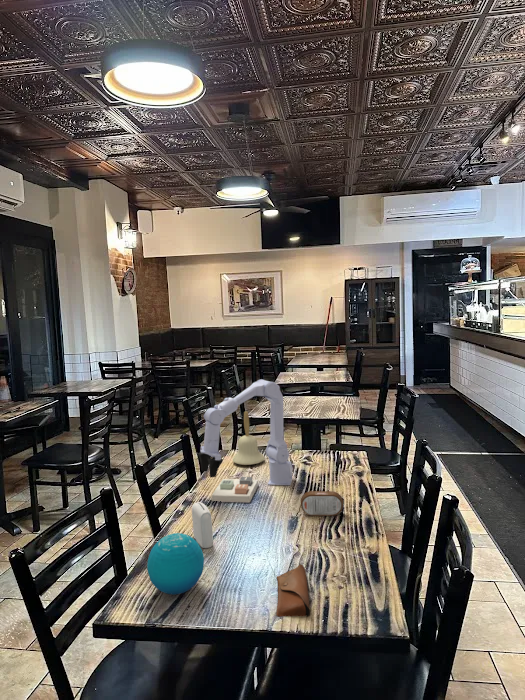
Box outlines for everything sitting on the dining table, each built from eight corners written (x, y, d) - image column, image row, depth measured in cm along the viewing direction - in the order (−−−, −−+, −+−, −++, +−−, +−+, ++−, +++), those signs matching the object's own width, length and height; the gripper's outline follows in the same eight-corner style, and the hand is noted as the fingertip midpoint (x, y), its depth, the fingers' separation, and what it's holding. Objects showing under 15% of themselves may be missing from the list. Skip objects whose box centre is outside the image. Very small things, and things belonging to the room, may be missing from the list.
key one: (252, 484, 196) (252, 476, 196) (250, 488, 192) (250, 480, 192) (242, 483, 197) (241, 476, 197) (239, 487, 193) (239, 480, 193)
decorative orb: (169, 570, 138) (166, 520, 136) (215, 579, 132) (212, 527, 131) (137, 600, 124) (133, 545, 123) (187, 612, 118) (183, 555, 117)
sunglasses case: (274, 575, 132) (286, 554, 132) (296, 586, 133) (308, 566, 132) (275, 617, 115) (288, 594, 114) (301, 630, 115) (314, 607, 114)
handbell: (252, 469, 218) (250, 416, 215) (226, 465, 226) (223, 413, 224) (270, 459, 231) (268, 409, 228) (245, 455, 239) (242, 406, 236)
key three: (233, 487, 194) (233, 479, 194) (231, 491, 190) (230, 483, 189) (223, 487, 195) (222, 479, 194) (220, 491, 190) (220, 483, 190)
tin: (343, 513, 169) (342, 490, 169) (344, 516, 166) (343, 493, 165) (301, 513, 171) (300, 490, 170) (300, 517, 168) (299, 494, 167)
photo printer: (191, 536, 157) (189, 500, 156) (204, 533, 159) (202, 497, 158) (202, 550, 148) (199, 512, 147) (215, 546, 150) (212, 508, 149)
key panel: (258, 485, 199) (257, 479, 198) (249, 502, 182) (249, 496, 182) (223, 484, 201) (222, 479, 201) (211, 501, 185) (211, 495, 184)
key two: (248, 491, 189) (248, 483, 188) (246, 496, 184) (245, 488, 184) (237, 491, 189) (237, 483, 189) (235, 495, 185) (234, 488, 185)
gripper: (194, 435, 189) (191, 469, 189) (210, 444, 177) (206, 480, 177) (210, 435, 193) (207, 468, 193) (227, 443, 180) (223, 478, 181)
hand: (208, 474), depth 185 cm, fingers open, 7 cm apart
